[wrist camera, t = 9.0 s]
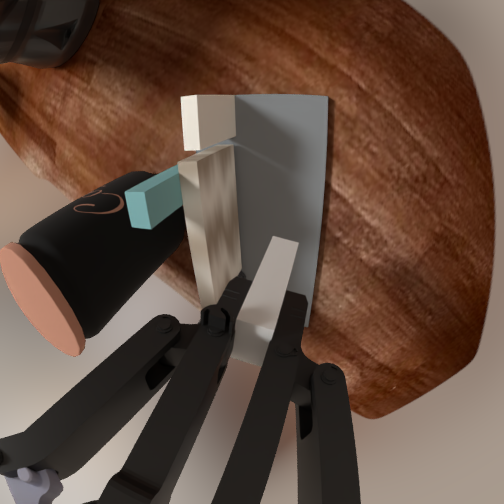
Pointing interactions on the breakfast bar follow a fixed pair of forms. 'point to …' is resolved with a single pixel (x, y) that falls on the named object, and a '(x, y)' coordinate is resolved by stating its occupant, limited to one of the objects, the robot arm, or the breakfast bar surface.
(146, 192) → the bar
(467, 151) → the breakfast bar surface
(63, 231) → the coffee jar
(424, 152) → the breakfast bar surface
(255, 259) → the mat
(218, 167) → the gate
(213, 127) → the fence
